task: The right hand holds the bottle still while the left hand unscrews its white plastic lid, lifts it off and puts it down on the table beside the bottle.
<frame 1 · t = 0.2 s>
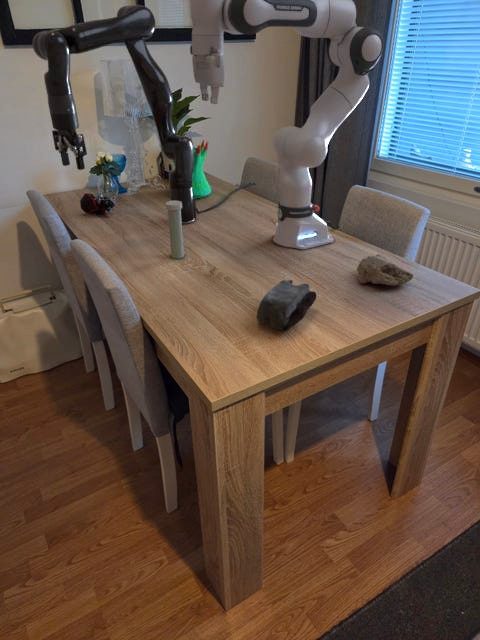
left hand: (73, 167, 141), 29 cm above the table, tool pointing down, fingers open, 8 cm apart
right hand: (209, 102, 133), 48 cm above the table, tool pointing down, fingers open, 8 cm apart
bottle: (177, 256, 154), on the table
lid: (173, 203, 144), point 18 cm above the table, screwed on, not yet turned
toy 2: (190, 195, 217), on the table
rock: (287, 317, 119), on the table
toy: (98, 214, 191), on the table
artifact: (378, 278, 140), on the table
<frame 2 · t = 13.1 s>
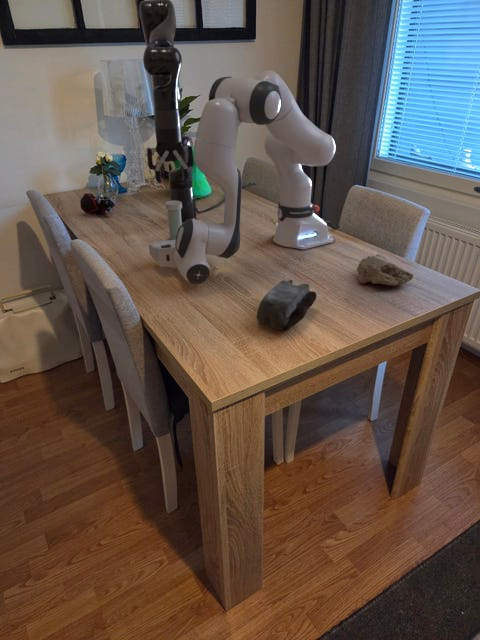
left hand: (172, 181, 140), 26 cm above the table, tool pointing down, fingers open, 7 cm apart
right hand: (175, 238, 151), 6 cm above the table, tool horizontal, fingers closed on bottle, 4 cm apart
bottle: (177, 256, 154), on the table, touching right hand
everything else where it was.
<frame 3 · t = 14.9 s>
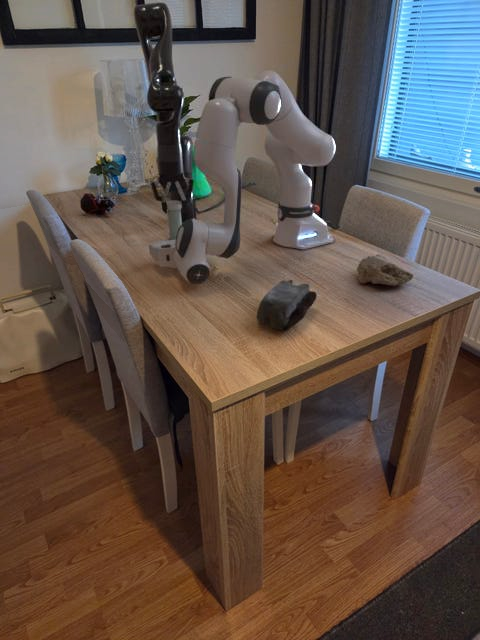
left hand: (174, 211, 146), 16 cm above the table, tool pointing down, fingers closed on lid, 5 cm apart
right hand: (175, 238, 151), 6 cm above the table, tool horizontal, fingers closed on bottle, 4 cm apart
bottle: (177, 256, 154), on the table, touching right hand
lid: (173, 203, 144), point 18 cm above the table, screwed on, not yet turned, touching left hand
everything else where it was.
when the left hand's fingers open (16 cm above the table, at t = 16.7 s): lid stays where it is, point 19 cm above the table.
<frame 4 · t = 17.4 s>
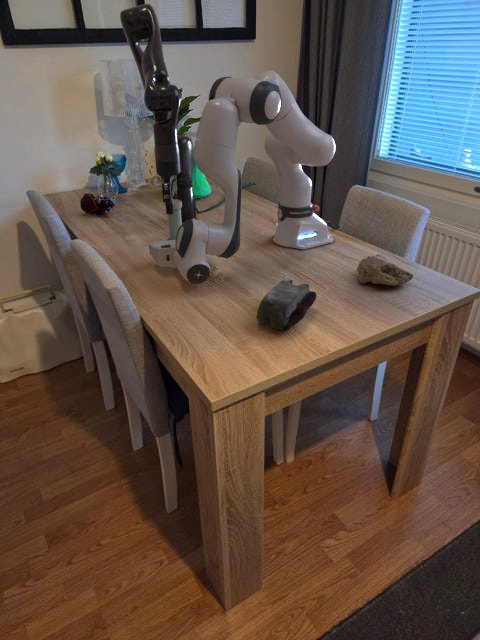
left hand: (171, 209, 145), 16 cm above the table, tool pointing down, fingers open, 7 cm apart
right hand: (175, 238, 151), 6 cm above the table, tool horizontal, fingers closed on bottle, 4 cm apart
bottle: (177, 256, 154), on the table, touching right hand
lid: (173, 202, 144), point 19 cm above the table, turned 108° so far, risen 0.4 cm, still on its thread
everything else where it was.
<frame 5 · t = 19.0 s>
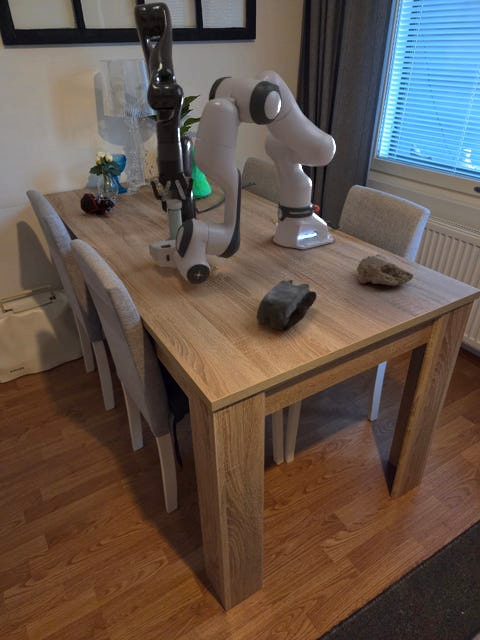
left hand: (174, 210, 145), 16 cm above the table, tool pointing down, fingers closed on lid, 5 cm apart
right hand: (175, 238, 151), 6 cm above the table, tool horizontal, fingers closed on bottle, 4 cm apart
bottle: (177, 256, 154), on the table, touching right hand
lid: (173, 202, 144), point 19 cm above the table, turned 108° so far, risen 0.4 cm, still on its thread, touching left hand
everything else where it was.
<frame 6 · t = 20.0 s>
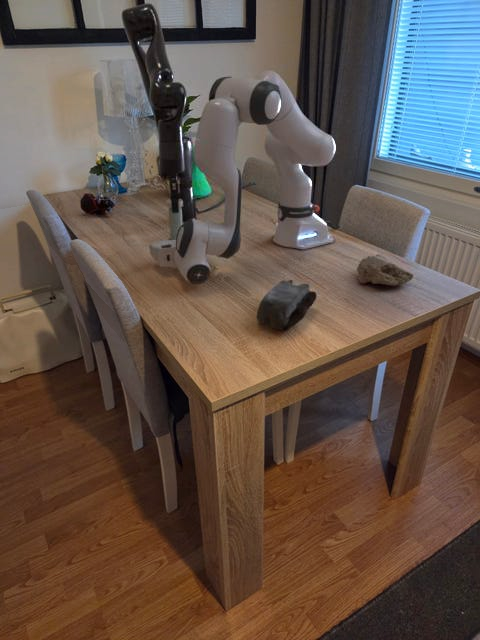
left hand: (175, 209, 145), 17 cm above the table, tool pointing down, fingers closed on lid, 5 cm apart
right hand: (176, 238, 151), 6 cm above the table, tool horizontal, fingers closed on bottle, 4 cm apart
bottle: (177, 256, 154), on the table, touching right hand
lid: (174, 201, 144), point 19 cm above the table, turned 190° so far, risen 0.7 cm, still on its thread, touching left hand
everything else where it was.
when the left hand's fingers open (0 cm above the table, at t = 27.3 s): lid drops 2 cm, point 1 cm above the table.
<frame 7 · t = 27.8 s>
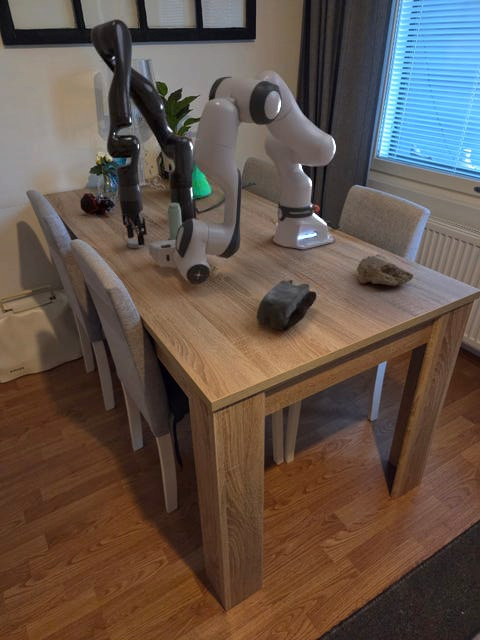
left hand: (136, 241, 161), 2 cm above the table, tool pointing down, fingers open, 8 cm apart
right hand: (175, 238, 151), 6 cm above the table, tool horizontal, fingers closed on bottle, 4 cm apart
bottle: (177, 256, 154), on the table, touching right hand
lid: (135, 241, 161), point 1 cm above the table, off its thread
everything else where it was.
when the right hand's fingers open (6 cm above the table, at t = 28.4 s): bottle stays where it is, on the table.
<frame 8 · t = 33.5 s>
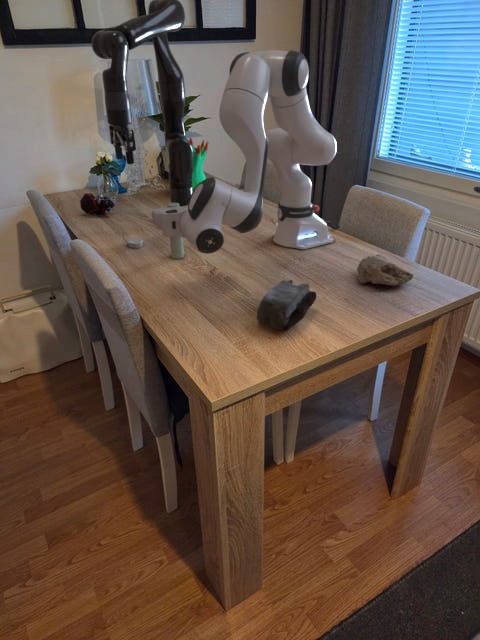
left hand: (125, 161, 147), 30 cm above the table, tool pointing down, fingers open, 8 cm apart
right hand: (182, 206, 133), 21 cm above the table, tool horizontal, fingers open, 8 cm apart
bottle: (177, 256, 154), on the table
everything else where it was.
at the end: lid came off its thread; lid point 1.4 cm above the table; the left hand is holding nothing; the right hand is holding nothing; bottle tilted 0°; bottle moved 0.1 cm from its start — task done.
